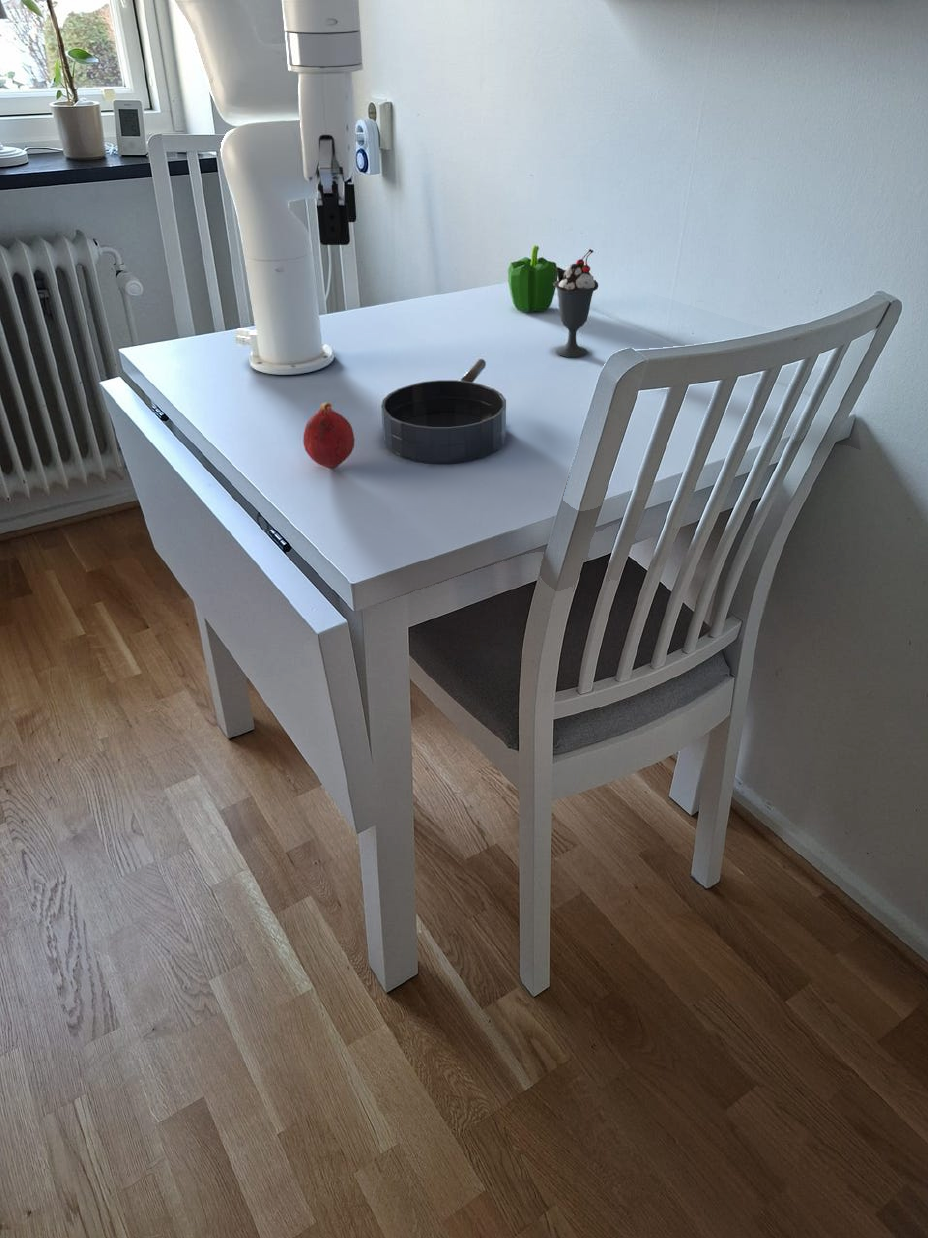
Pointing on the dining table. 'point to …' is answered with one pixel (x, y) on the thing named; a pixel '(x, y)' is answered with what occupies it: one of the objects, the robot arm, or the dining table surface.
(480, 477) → the dining table surface
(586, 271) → the sundae
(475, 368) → the pan handle
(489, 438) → the pan
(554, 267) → the bell pepper
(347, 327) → the dining table surface
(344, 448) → the onion
